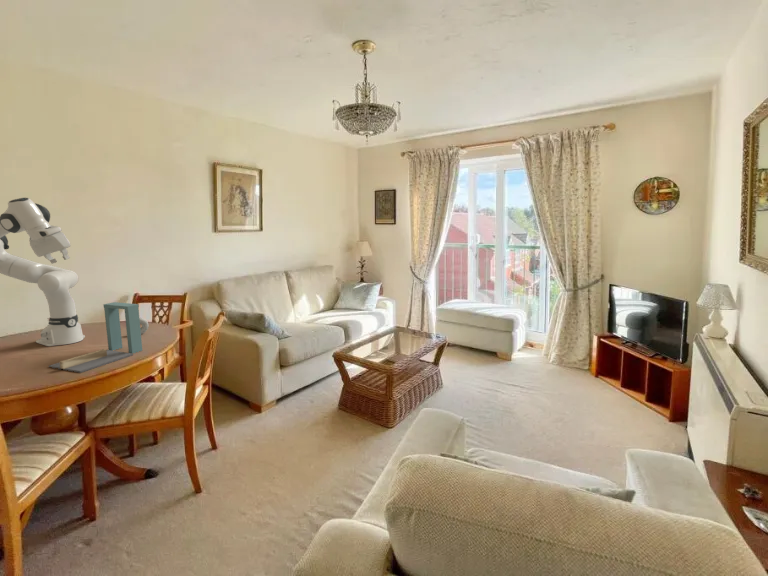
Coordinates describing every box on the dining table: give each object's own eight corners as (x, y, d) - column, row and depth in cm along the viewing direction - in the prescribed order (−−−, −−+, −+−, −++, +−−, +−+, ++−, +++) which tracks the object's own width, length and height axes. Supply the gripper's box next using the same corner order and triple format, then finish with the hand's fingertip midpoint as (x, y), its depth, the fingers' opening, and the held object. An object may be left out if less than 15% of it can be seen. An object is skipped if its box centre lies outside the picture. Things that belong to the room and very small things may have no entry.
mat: (48, 367, 176) (48, 365, 176) (103, 350, 199) (103, 349, 199) (80, 372, 170) (80, 371, 170) (133, 355, 193) (133, 353, 193)
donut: (129, 336, 225) (128, 319, 224) (129, 335, 228) (127, 318, 226) (149, 333, 231) (148, 317, 230) (148, 332, 234) (147, 315, 233)
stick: (60, 368, 173) (59, 361, 172) (103, 355, 191) (102, 349, 190) (63, 368, 172) (63, 362, 172) (107, 355, 190) (106, 349, 189)
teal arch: (108, 350, 200) (103, 304, 196) (119, 347, 205) (114, 302, 202) (132, 354, 195) (127, 306, 191) (142, 350, 200) (138, 304, 197)
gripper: (20, 240, 177) (40, 267, 182) (48, 230, 169) (68, 259, 175) (34, 235, 182) (53, 262, 187) (62, 225, 175) (81, 254, 180)
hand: (60, 261), depth 181 cm, fingers open, 8 cm apart
